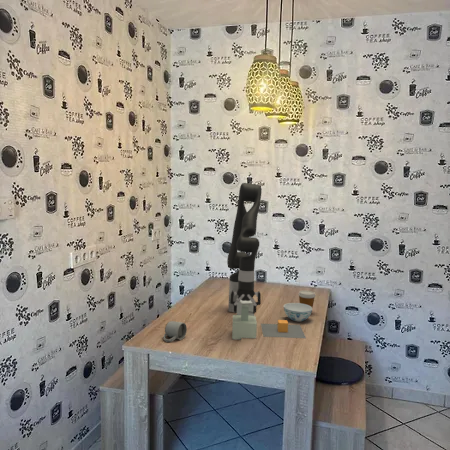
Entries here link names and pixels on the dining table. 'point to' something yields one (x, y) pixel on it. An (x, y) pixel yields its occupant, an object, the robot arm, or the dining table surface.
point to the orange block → (282, 326)
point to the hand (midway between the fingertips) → (244, 312)
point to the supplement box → (245, 304)
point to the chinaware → (297, 311)
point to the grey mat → (272, 331)
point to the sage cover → (244, 325)
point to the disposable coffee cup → (306, 298)
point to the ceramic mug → (175, 330)
